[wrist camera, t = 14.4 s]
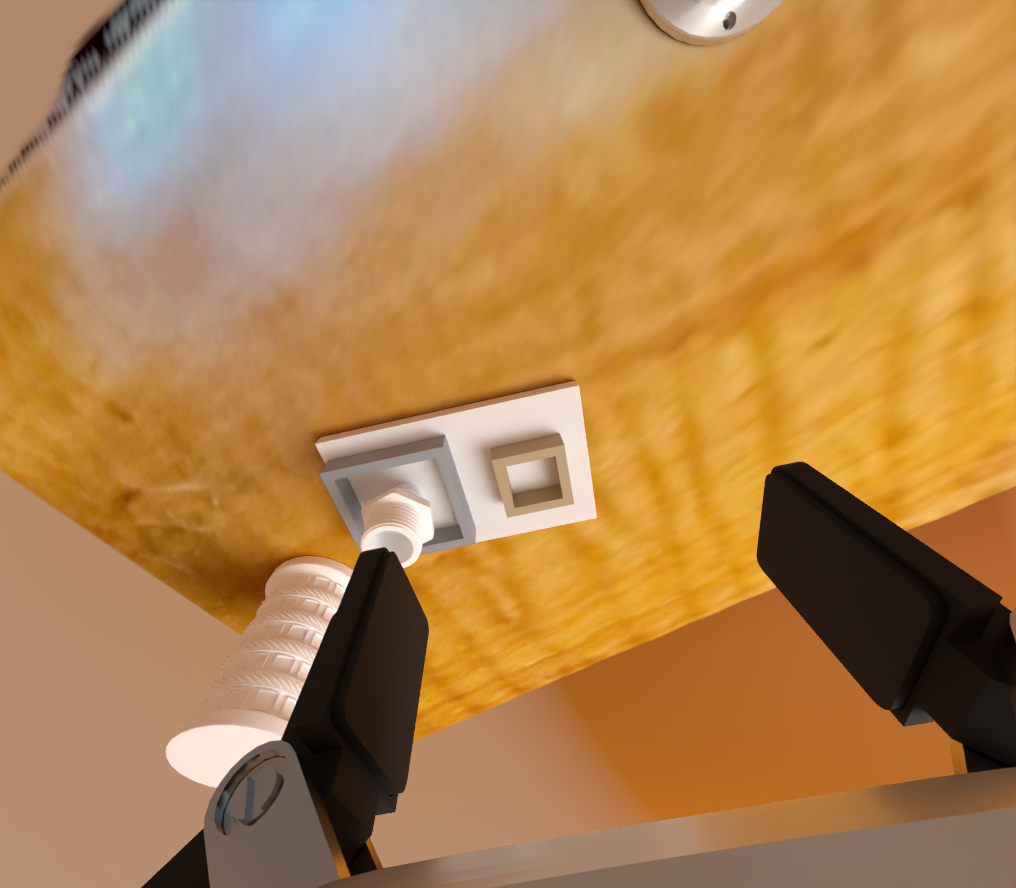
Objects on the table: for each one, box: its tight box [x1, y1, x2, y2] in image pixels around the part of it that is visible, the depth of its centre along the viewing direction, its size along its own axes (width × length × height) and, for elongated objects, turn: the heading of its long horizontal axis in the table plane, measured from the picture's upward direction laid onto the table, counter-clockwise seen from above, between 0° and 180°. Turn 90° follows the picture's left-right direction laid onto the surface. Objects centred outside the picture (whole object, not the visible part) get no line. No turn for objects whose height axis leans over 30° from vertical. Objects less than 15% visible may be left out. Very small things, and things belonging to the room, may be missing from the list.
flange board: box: [315, 380, 597, 555], centre depth 40 cm, size 16×26×4 cm, turn 102°
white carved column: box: [166, 556, 353, 788], centre depth 40 cm, size 12×12×18 cm
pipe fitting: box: [360, 483, 434, 568], centre depth 37 cm, size 6×7×8 cm
